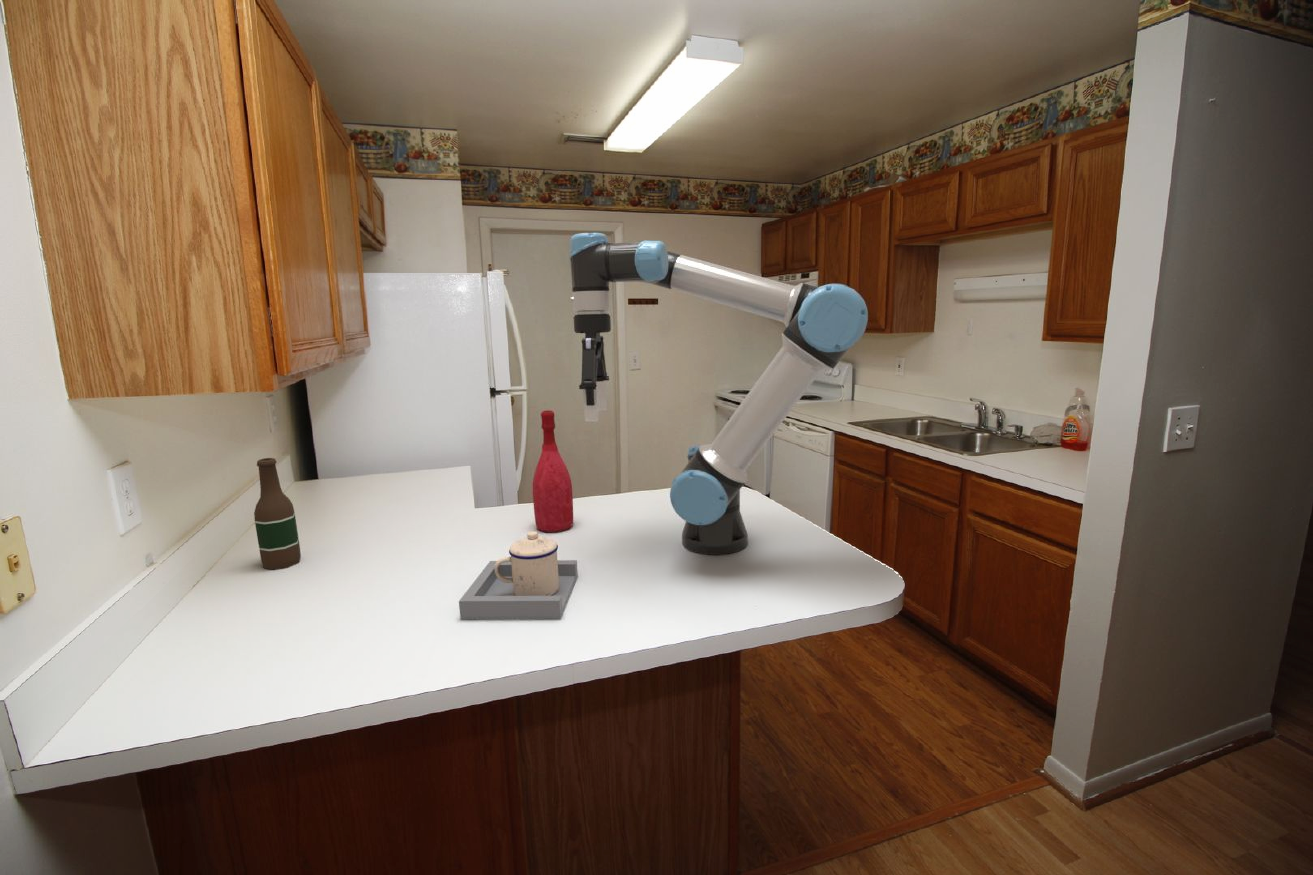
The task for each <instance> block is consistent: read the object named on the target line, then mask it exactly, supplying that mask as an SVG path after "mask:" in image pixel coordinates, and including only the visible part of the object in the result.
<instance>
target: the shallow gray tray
mask: <svg viewBox="0 0 1313 875" xmlns="http://www.w3.org/2000/svg"><path fill="white" fill-rule="evenodd" d="M557 560H558V559H557ZM497 561H498V560H489V562H488V563H487V564H486V566H485V567H484V568H483V569H482V571H481V572H480V573H479V575H478V576H477V578H476V579H475V580H474V581H473V582H472V584H471V585H470V586H469V587H468V589H467V590H466V591H465V593H464V594H463V595H462V597H461V598H460V599H459V600H458V608H459V616H460V617H459V618H460V620H561V619H562V616H563V615H564V612H565V609H566V606H567V604H568V601H569V599H570V597H571V594H572V591H573V589H574V587H575V584H576V581H577V579H578V578H579V576H578V575H579V572H578V560H577V559H573V560H572V559H569V560H568V559H566V560H563V559H561V560H558V576H559V589H558V591H557V592H556V593H554V594H553V595H551V596H516V595H515V594H514V590H513V583H505V582H502V581H501V580H499V579H498V578H497V576H496V574H495V570H494V567H495V564H496V562H497ZM498 570H499V573H500V574H501V575H502V576H503V577H505V578H512V565H511V562H504V563H501V564H500V565H499V567H498Z"/></svg>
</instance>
